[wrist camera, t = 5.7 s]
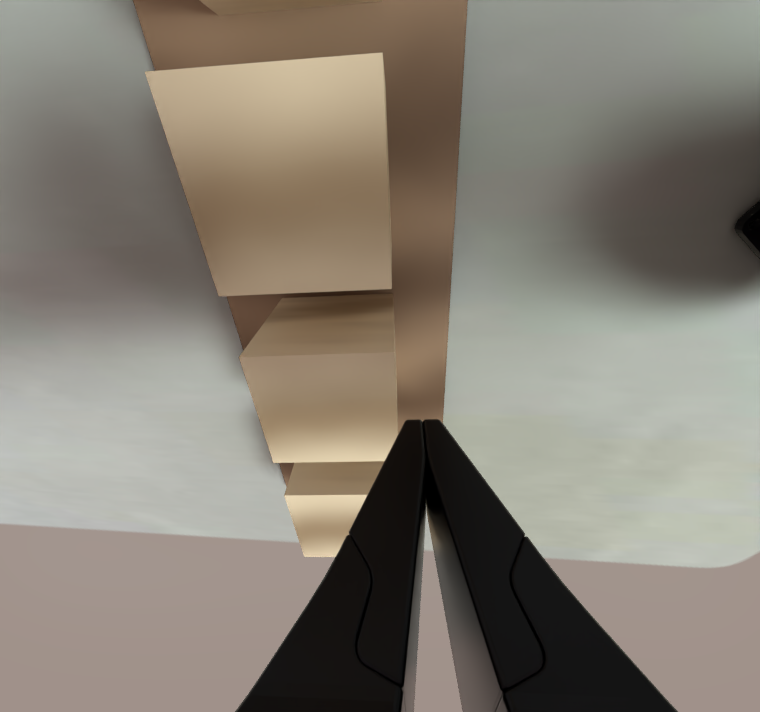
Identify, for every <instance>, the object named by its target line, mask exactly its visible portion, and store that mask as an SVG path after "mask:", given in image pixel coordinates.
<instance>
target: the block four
mask: <svg viewBox="0 0 760 712" xmlns="http://www.w3.org/2000/svg"><path fill="white" fill-rule="evenodd" d="M397 420H398V415H397ZM383 463H384V461H364V462H300V463H294V466H293V469H292V472H291V475H290V479H289V482H288V485H287V488H286V492H285V495H284V496H285V499H286V502H287V505H288V508H289V511H290V514H291V517H292V520H293V524H294V527H295V530H296V533H297V536H298V539H299V542H300V545H301V548H302V551H303V554H304V556H305V557H336V555H337V553H338V551H339V549H340V547H341V545H342V544H343V542H344V540H345V538H346V536H347V535H349V530H350V528H351V526H352V524H353V522H354V520H355V518H356V516H357V514H358V512H359V510H360V509H361V507H362V505H363V503H364V501H365V499H366V497H367V495H368V493H369V491H370V489H371V487H372V485H373V483H374V481H375V479H376V477H377V475H378V473H379V471H380V469H381V467H382V465H383Z"/></svg>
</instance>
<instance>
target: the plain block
mask: <svg viewBox="0 0 760 712" xmlns="http://www.w3.org/2000/svg"><path fill="white" fill-rule="evenodd" d="M239 359H240V362H241V365H242V368H243V371H244V375H245V378H246V381H247V384H248V387H249V390H250V393H251V396H252V399H253V402H254V405H255V408H256V411H257V414H258V417H259V420H260V423H261V426H262V429H263V432H264V435H265V438H266V441H267V444H268V447H269V451H270V454H271V457H272V460H273V463H300V462H364V461H385V459H386V457H387V455H388V453H389V451H390V450H391V448H392V446H393V444H394V442H395V440H396V438H397V436H398V420H397V380H396V353H395V325H394V297H393V293H392V294H369V295H345V296H321V297H298V298H282V299H281V300H280V302H279V303H278V304H277V306H276V307H275V308H274V310H273V311H272V313H271V314H270V315H269V317H268V318H267V319H266V321H265V322H264V323H263V325H262V326H261V328H260V329H259V330H258V332H257V333H256V334H255V336H254V337H253V339H252V340H251V341H250V343H249V344H248V345H247V347H246V348H245V349H244V351H243V352H242V354H241V355H240V356H239Z"/></svg>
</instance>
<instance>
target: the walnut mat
mask: <svg viewBox="0 0 760 712" xmlns="http://www.w3.org/2000/svg"><path fill="white" fill-rule="evenodd" d="M133 2H134V5H135V8H136V11H137V15H138V18H139V21H140V24H141V27H142V30H143V34H144V37H145V40H146V43H147V46H148V49H149V53H150V56H151V59H152V62H153V65H154V68H155V71H160V70H172V69H184V68H197V67H209V66H221V65H234V64H246V63H258V62H271V61H283V60H296V59H308V58H320V57H333V56H345V55H357V54H370V53H382V52H383V63H384V74H385V86H386V108H387V135H388V163H389V190H390V218H391V245H392V289H379V290H356V291H333V292H310V293H286V294H263V295H240V296H227V299H228V303H229V306H230V309H231V312H232V315H233V318H234V322H235V325H236V328H237V331H238V334H239V337H240V341H241V344H242V347H243V350H244V349H245V348H246V347H247V345H248V344H249V343H250V341H251V340H252V339H253V337H254V336H255V334H256V333H257V332H258V330H259V329H260V328H261V326H262V325H263V323H264V322H265V321H266V319H267V318H268V317H269V315H270V314H271V313H272V311H273V310H274V308H275V307H276V306H277V304H278V303H279V302H280V300H281V299H282V298H298V297H321V296H345V295H369V294H392V293H393V297H394V325H395V353H396V380H397V415H398V434H399V432H400V430H401V428H402V426H403V424H404V422H405V421H406V420H408V419H420V420H422V422H423V420H424V419H439V420H440V421H441V422H442V423H443V410H444V393H445V376H446V359H447V342H448V325H449V308H450V291H451V274H452V257H453V240H454V223H455V206H456V189H457V172H458V155H459V138H460V121H461V104H462V87H463V70H464V53H465V36H466V19H467V2H468V0H383V1H377V2H366V3H355V4H343V5H332V6H321V7H310V8H298V9H287V10H276V11H265V12H254V13H242V14H231V15H220V16H219V15H217V14H216V13H215V12H213V11H212V10H211V9H210V8H208V7H207V6H206V5H204V4H203V3H202V2H201V1H199V0H133ZM279 464H280V467H281V470H282V474H283V477H284V480H285V483H286V486H287V485H288V482H289V479H290V475H291V472H292V469H293V466H294V463H279Z"/></svg>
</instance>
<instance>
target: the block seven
mask: <svg viewBox="0 0 760 712" xmlns="http://www.w3.org/2000/svg"><path fill="white" fill-rule="evenodd" d="M145 74H146V77H147V80H148V83H149V86H150V89H151V92H152V95H153V98H154V101H155V105H156V108H157V111H158V114H159V117H160V120H161V123H162V126H163V129H164V132H165V135H166V138H167V141H168V144H169V147H170V150H171V153H172V156H173V159H174V162H175V165H176V168H177V171H178V174H179V177H180V180H181V184H182V187H183V190H184V193H185V196H186V199H187V202H188V205H189V208H190V211H191V214H192V217H193V220H194V223H195V226H196V229H197V232H198V235H199V238H200V241H201V244H202V247H203V250H204V253H205V256H206V259H207V263H208V266H209V269H210V272H211V275H212V278H213V281H214V284H215V287H216V290H217V293H218V296H240V295H263V294H286V293H310V292H333V291H356V290H379V289H392V245H391V218H390V190H389V163H388V135H387V108H386V86H385V74H384V63H383V52H382V53H370V54H357V55H345V56H333V57H320V58H308V59H296V60H283V61H271V62H258V63H246V64H234V65H221V66H209V67H197V68H184V69H172V70H160V71H147V72H145Z"/></svg>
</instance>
